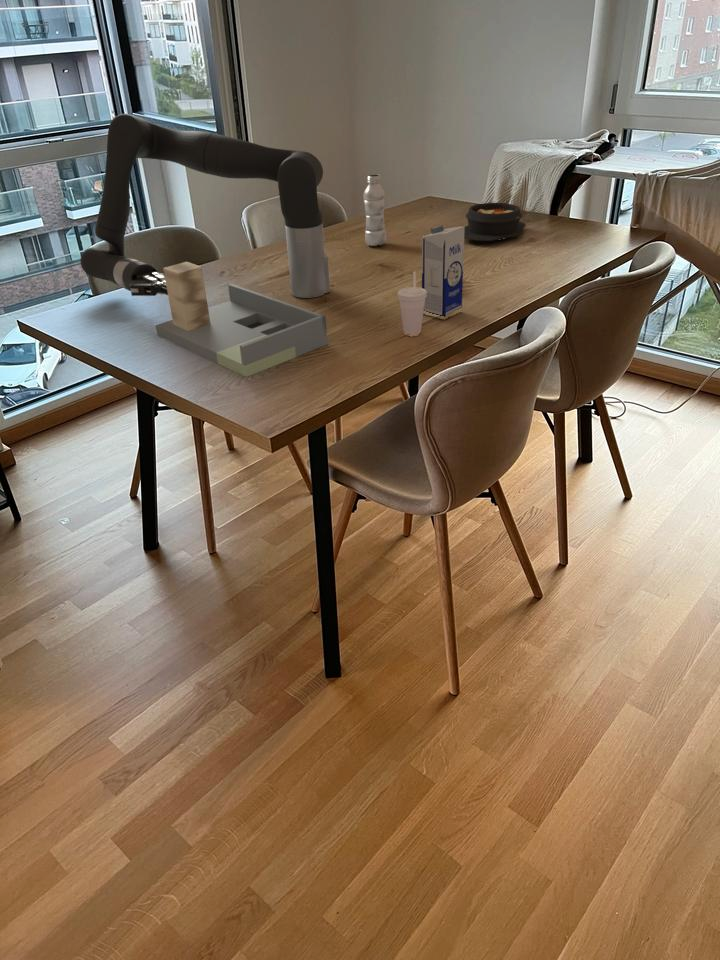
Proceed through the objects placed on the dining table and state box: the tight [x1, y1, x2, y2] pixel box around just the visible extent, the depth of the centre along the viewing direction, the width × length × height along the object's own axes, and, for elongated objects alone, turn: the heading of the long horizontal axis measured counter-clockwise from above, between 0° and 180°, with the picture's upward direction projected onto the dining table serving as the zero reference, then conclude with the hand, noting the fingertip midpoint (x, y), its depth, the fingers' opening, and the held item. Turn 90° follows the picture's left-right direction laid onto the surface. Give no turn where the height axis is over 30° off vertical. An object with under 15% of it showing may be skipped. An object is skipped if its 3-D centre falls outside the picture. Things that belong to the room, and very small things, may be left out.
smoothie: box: [396, 270, 427, 335], centre depth 165 cm, size 6×6×14 cm
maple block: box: [162, 261, 211, 331], centre depth 168 cm, size 6×6×13 cm
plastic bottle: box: [363, 173, 387, 247], centre depth 223 cm, size 6×7×20 cm
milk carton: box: [421, 225, 465, 317], centre depth 173 cm, size 7×7×20 cm
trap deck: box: [154, 283, 328, 378], centre depth 168 cm, size 22×34×6 cm, turn 44°
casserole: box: [464, 202, 527, 242], centre depth 230 cm, size 25×19×8 cm
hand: (174, 291), depth 172 cm, fingers closed
